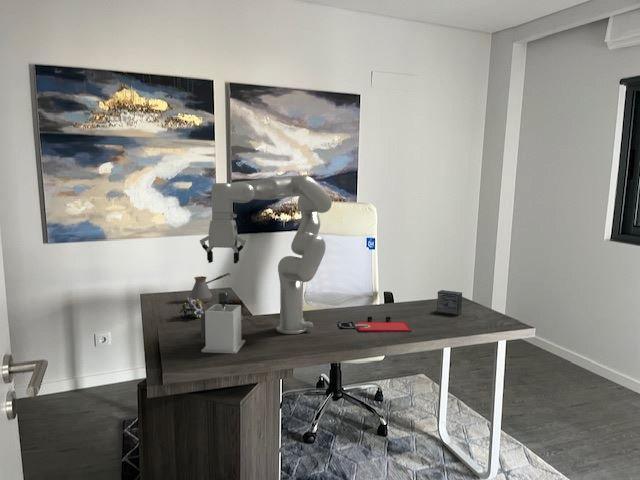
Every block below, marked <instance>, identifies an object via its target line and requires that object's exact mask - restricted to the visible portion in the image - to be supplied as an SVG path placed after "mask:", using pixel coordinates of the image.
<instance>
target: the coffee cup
mask: <svg viewBox="0 0 640 480" xmlns="http://www.w3.org/2000/svg"><path fill="white" fill-rule="evenodd" d="M225 305H241V324H242V322H243V317H244V313H243V312H244V311H243V310H244V307H245V303H243V300H242V299H240V298H239V299H236V298H233V299H228V304H225Z"/></svg>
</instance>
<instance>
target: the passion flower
mask: <svg viewBox="0 0 640 480" xmlns="http://www.w3.org/2000/svg"><path fill="white" fill-rule="evenodd" d="M186 299H187V303H186V302H184V303H181V305H180V306H181V307H182V309H181V310H179V314H181V313H182V312H183V313H182V318H184V317H185V315H186V314H187V313H189V312H192V313H191V314H192V315H193V316H194V317H195V318H196V319H201V314H202V313H204V308H203V307H204V303H202V302H201V300H200V299H199V300H198V299H197V300H196V301H195V299H192V298H190V297H188V296H186Z"/></svg>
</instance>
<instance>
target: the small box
mask: <svg viewBox="0 0 640 480" xmlns="http://www.w3.org/2000/svg"><path fill="white" fill-rule="evenodd" d="M462 303H463V292H461V291H454V290H453V291H452V290H443V289H440V290H439V291H437V308H436V313H437V314H444V315H452V316H459V315H460V314H462V307H463V306H462V305H463V304H462Z"/></svg>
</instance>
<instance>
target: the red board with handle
mask: <svg viewBox="0 0 640 480" xmlns="http://www.w3.org/2000/svg"><path fill="white" fill-rule="evenodd" d="M337 322H338V326H339V328H340V329H354V330H357V332H358V333H401V332H402V333H405V332H406V333H407V332H409V333H412V332H413V331H412V329H411V328H410V327H409V325H408V324H407V323H406V322H405V321H402V322H401V321H393V322H392V321H391V316H385V322H384V321H373V317H372V316H367V320H366V322H365V321H356V322H355V323H354V322H353V321H337Z"/></svg>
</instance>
